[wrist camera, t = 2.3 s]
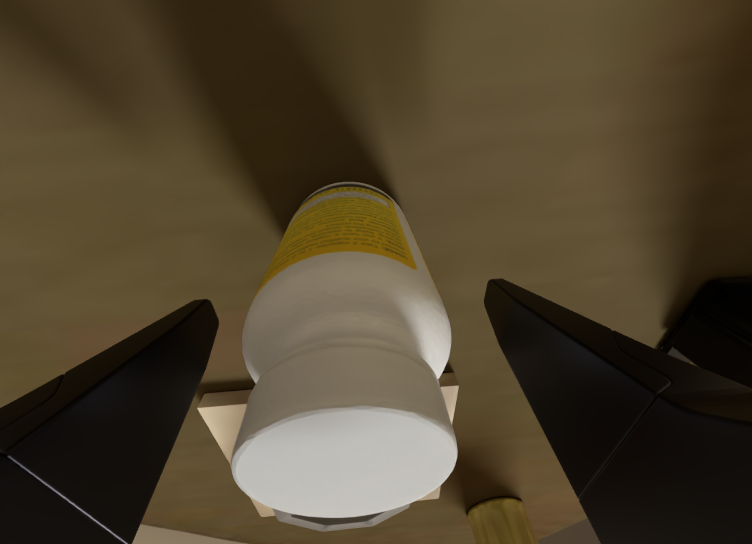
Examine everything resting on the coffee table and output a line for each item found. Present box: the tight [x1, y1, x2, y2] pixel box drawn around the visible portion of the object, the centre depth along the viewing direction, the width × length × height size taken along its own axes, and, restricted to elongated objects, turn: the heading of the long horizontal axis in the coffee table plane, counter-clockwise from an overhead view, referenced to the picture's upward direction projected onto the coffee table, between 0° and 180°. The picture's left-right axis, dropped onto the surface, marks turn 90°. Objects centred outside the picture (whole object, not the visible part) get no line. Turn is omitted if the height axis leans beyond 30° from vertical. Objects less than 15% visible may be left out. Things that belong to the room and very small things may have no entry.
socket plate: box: [197, 373, 459, 531], centre depth 21 cm, size 16×16×4 cm
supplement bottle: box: [231, 182, 457, 518], centre depth 9 cm, size 5×5×10 cm
